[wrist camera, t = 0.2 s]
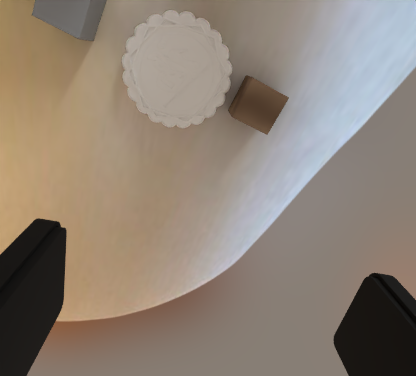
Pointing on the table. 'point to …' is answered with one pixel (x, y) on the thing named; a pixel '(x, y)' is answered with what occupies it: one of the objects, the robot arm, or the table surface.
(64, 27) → the slate-grey block
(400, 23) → the table surface
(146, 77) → the mooncake
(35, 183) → the table surface
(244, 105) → the walnut block
